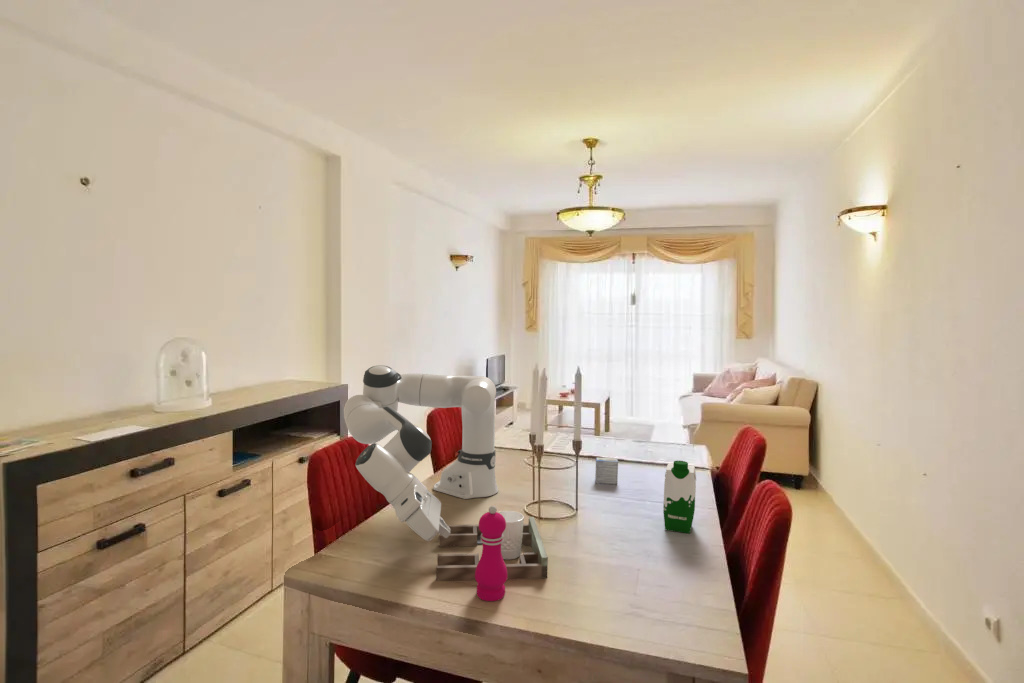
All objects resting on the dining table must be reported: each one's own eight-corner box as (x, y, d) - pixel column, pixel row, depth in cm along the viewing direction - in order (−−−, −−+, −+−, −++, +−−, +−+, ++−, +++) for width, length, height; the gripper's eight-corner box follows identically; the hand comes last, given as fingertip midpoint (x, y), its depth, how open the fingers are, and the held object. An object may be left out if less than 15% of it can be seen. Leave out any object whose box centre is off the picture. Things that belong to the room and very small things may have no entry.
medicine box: (616, 481, 206) (617, 458, 205) (617, 484, 201) (618, 461, 201) (595, 479, 206) (595, 457, 206) (595, 483, 202) (596, 460, 201)
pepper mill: (499, 605, 118) (501, 514, 117) (468, 598, 121) (470, 508, 120) (511, 589, 125) (514, 503, 124) (482, 583, 128) (484, 498, 126)
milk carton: (661, 530, 160) (664, 462, 159) (664, 519, 169) (666, 455, 168) (693, 535, 158) (696, 466, 156) (694, 524, 166) (697, 458, 165)
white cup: (486, 552, 143) (486, 515, 143) (509, 544, 149) (510, 508, 148) (505, 563, 138) (506, 524, 137) (529, 555, 143) (530, 517, 142)
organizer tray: (436, 580, 128) (436, 559, 128) (440, 535, 153) (440, 517, 153) (547, 578, 131) (547, 557, 131) (533, 534, 156) (533, 516, 156)
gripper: (404, 491, 149) (441, 526, 151) (396, 521, 129) (438, 561, 130) (421, 475, 149) (457, 510, 151) (415, 502, 129) (457, 542, 131)
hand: (448, 534), depth 141 cm, fingers closed
